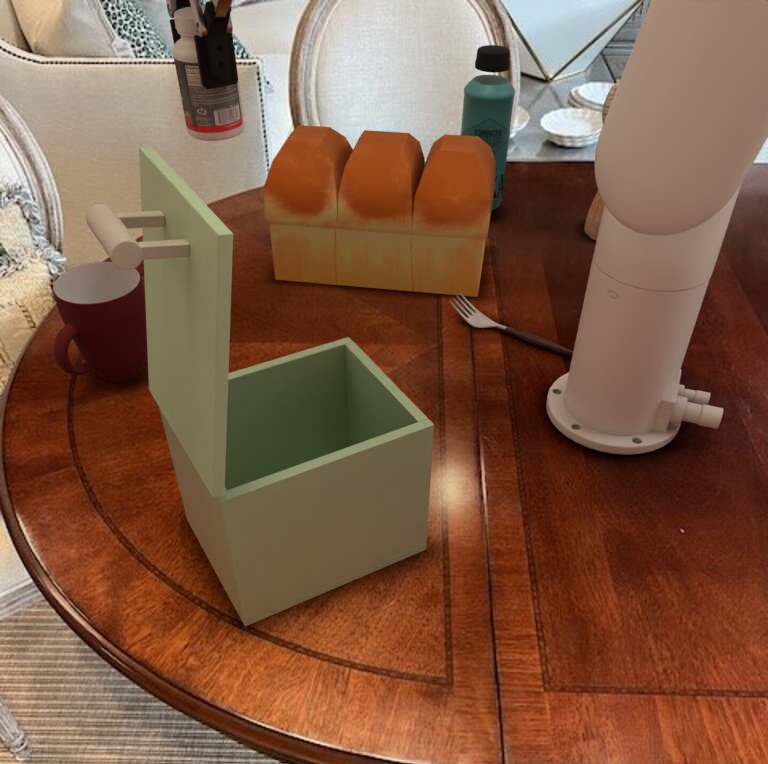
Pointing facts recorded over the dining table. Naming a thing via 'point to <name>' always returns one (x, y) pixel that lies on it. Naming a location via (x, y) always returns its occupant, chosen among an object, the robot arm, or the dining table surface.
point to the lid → (180, 306)
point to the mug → (102, 320)
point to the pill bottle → (203, 89)
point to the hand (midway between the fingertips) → (207, 74)
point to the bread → (380, 210)
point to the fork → (484, 322)
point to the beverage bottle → (490, 109)
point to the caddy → (310, 479)
